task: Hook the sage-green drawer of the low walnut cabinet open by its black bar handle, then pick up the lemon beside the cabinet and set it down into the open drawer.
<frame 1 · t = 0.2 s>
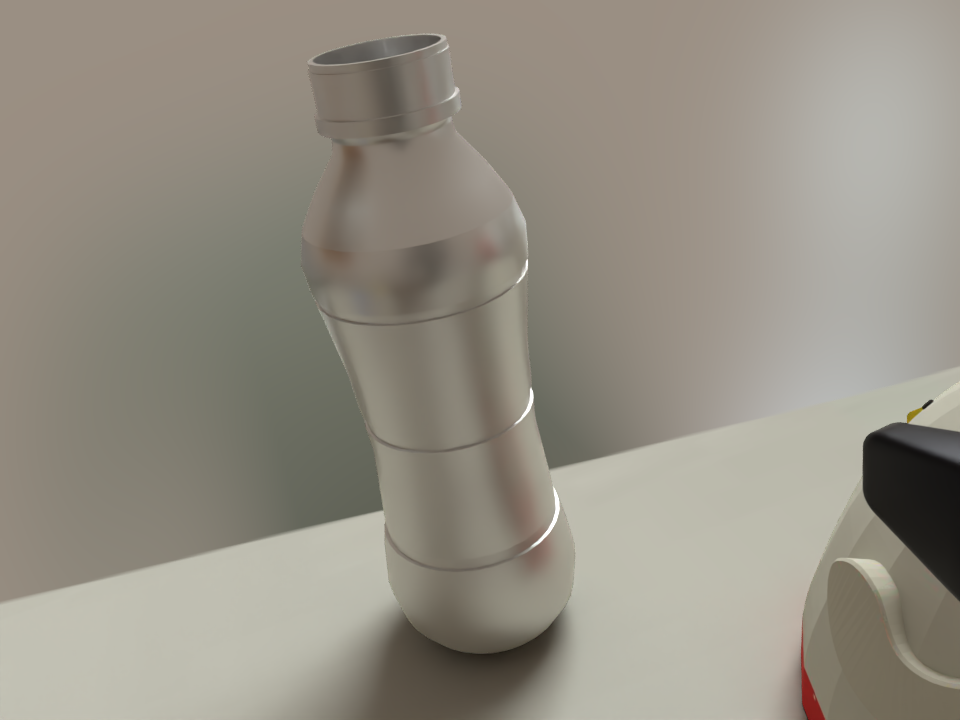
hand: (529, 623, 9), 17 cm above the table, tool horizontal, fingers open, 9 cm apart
plastic bottle: (491, 613, 32), on the table
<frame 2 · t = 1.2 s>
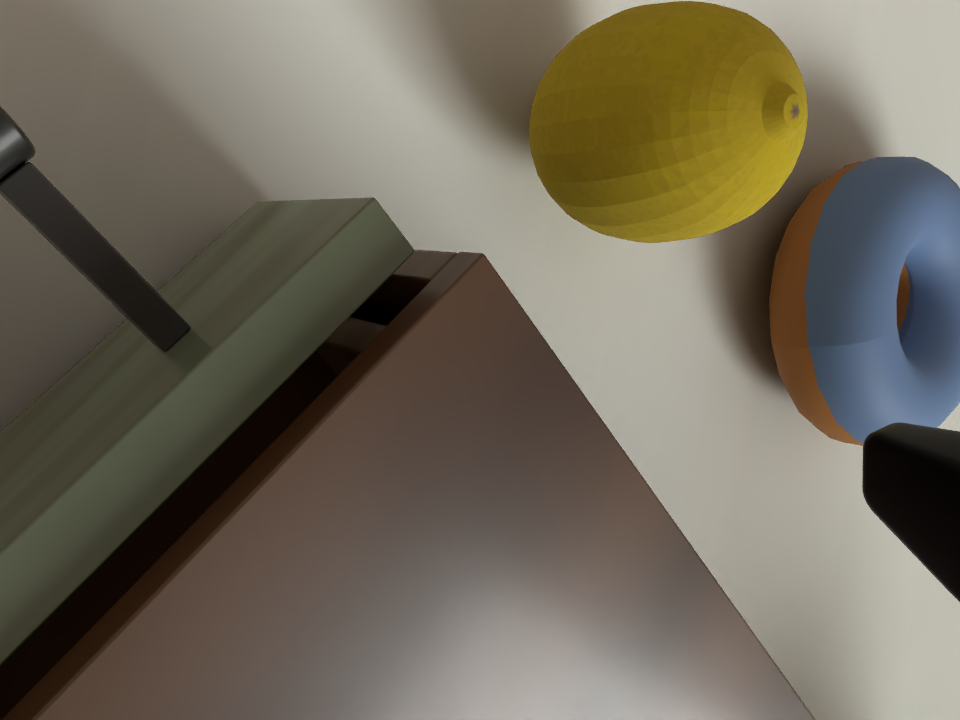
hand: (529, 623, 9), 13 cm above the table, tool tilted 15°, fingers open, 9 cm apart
lemon: (550, 139, 24), on the table
drawer: (257, 609, 17), point 4 cm above the table, slide at 0.5 cm
doughnut: (820, 297, 32), on the table
cabinet: (328, 655, 23), on the table
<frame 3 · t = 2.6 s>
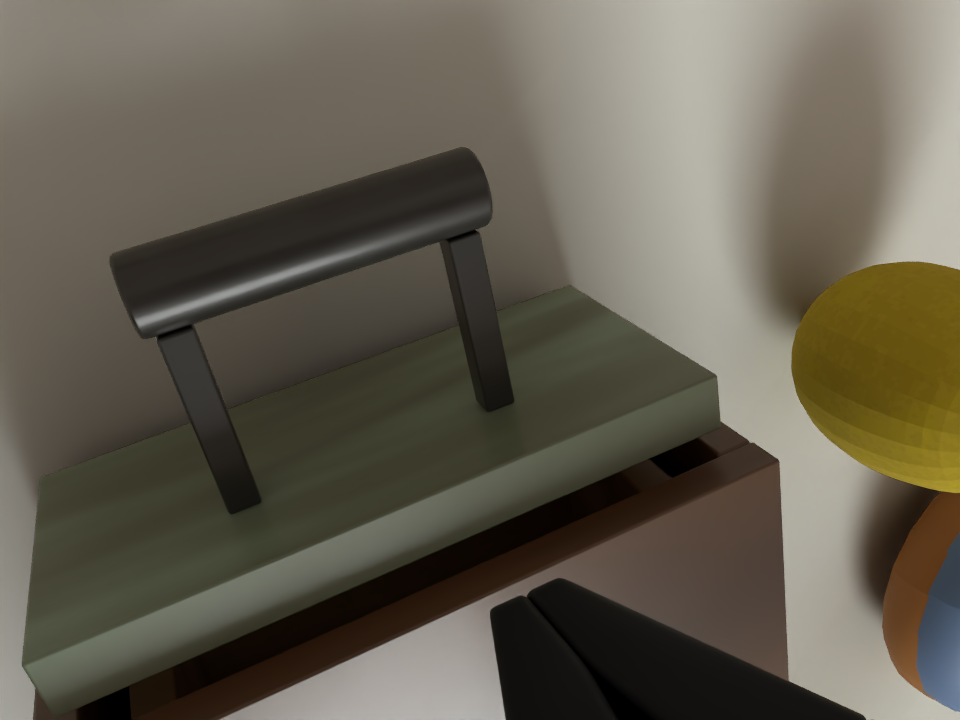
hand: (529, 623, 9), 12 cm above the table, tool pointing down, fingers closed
lemon: (805, 320, 26), on the table
drawer: (422, 625, 19), point 4 cm above the table, slide at 0.5 cm
doughnut: (945, 543, 33), on the table
cabinet: (416, 661, 25), on the table
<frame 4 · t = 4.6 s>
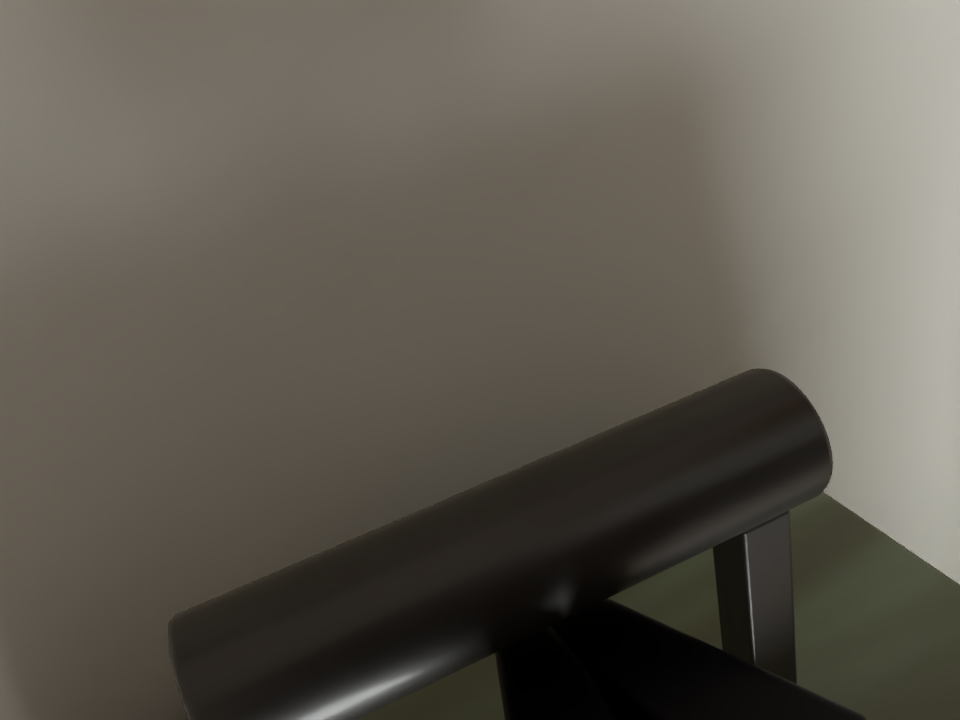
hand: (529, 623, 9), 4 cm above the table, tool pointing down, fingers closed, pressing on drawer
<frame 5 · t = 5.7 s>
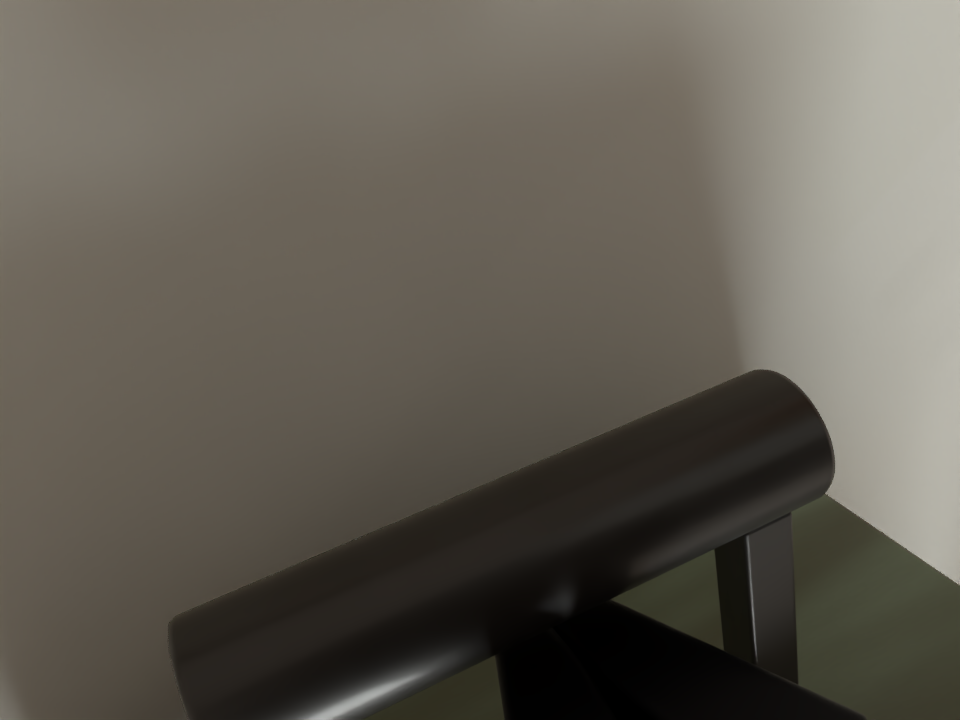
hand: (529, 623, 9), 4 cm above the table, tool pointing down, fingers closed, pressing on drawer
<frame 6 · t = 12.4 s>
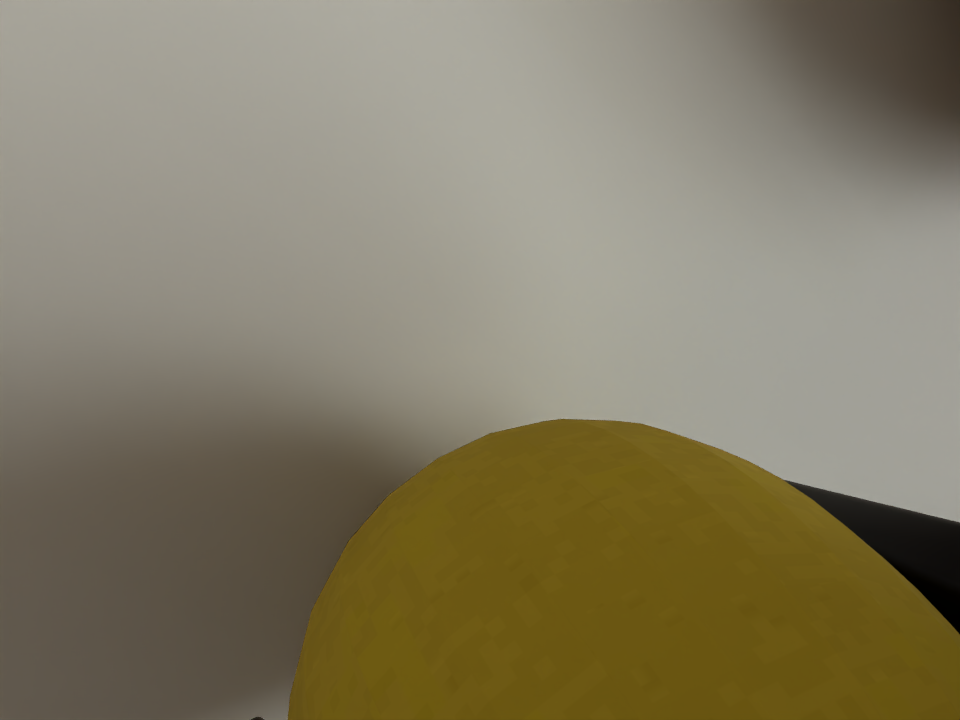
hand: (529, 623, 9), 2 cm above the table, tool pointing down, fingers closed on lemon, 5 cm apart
lemon: (450, 513, 11), on the table, touching gripper
when the fingers open (4 cm above the table, at t = 19.2 s): lemon stays where it is, resting on drawer.
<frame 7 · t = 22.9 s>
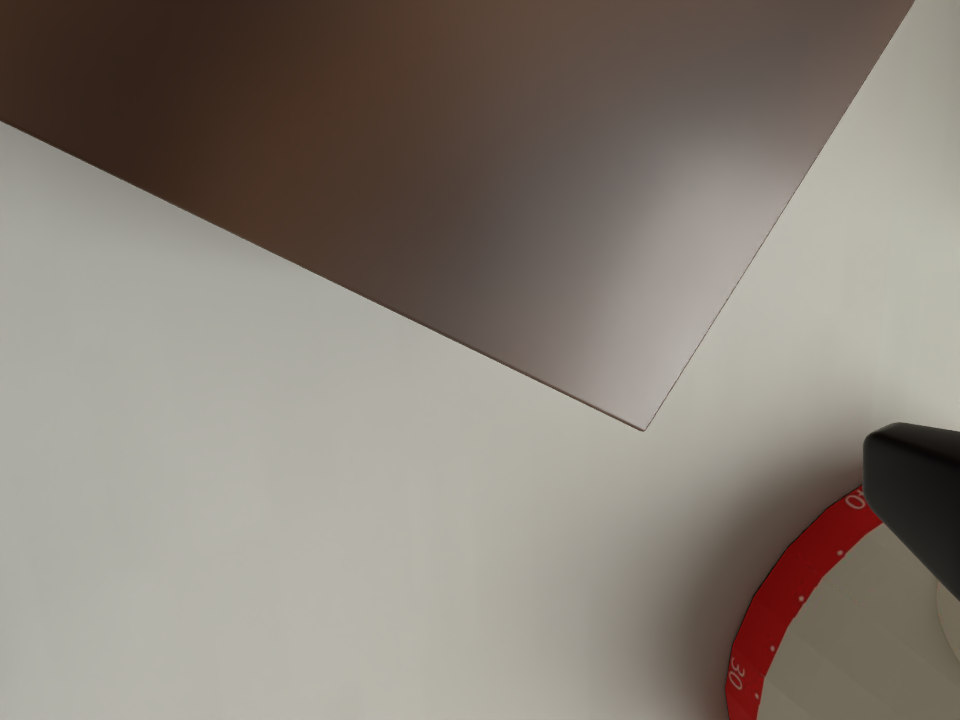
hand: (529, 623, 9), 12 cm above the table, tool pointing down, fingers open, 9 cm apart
kitchen timer: (872, 618, 33), on the table
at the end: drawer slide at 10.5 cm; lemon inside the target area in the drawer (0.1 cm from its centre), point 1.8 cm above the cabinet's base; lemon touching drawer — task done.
